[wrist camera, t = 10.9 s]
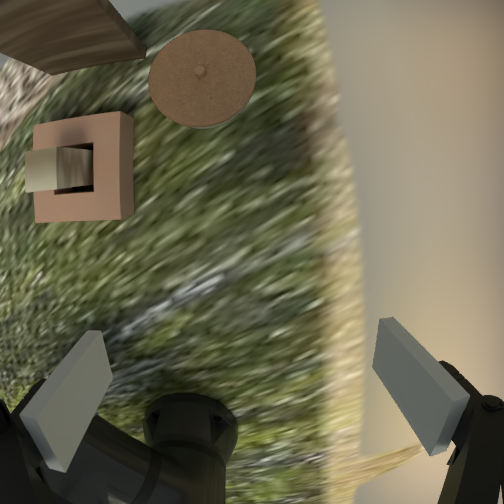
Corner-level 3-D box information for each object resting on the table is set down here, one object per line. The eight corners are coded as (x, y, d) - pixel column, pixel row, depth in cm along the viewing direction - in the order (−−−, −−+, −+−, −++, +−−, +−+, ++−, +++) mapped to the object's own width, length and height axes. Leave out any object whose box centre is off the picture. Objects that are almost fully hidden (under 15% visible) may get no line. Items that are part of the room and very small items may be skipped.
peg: (104, 183, 37) (56, 189, 26) (77, 185, 37) (25, 192, 25) (104, 151, 36) (56, 146, 25) (77, 154, 36) (25, 152, 24)
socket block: (134, 213, 38) (120, 219, 34) (55, 216, 38) (35, 222, 33) (134, 117, 36) (120, 111, 31) (53, 128, 35) (33, 125, 30)
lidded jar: (173, 144, 37) (153, 136, 28) (157, 65, 34) (136, 38, 25) (261, 125, 37) (268, 110, 27) (243, 46, 34) (244, 13, 25)
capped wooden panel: (150, 93, 35) (-22, -41, 4) (43, 110, 34) (-148, 77, 4) (153, 43, 33) (31, -124, 3) (48, 64, 33) (-119, -4, 2)
